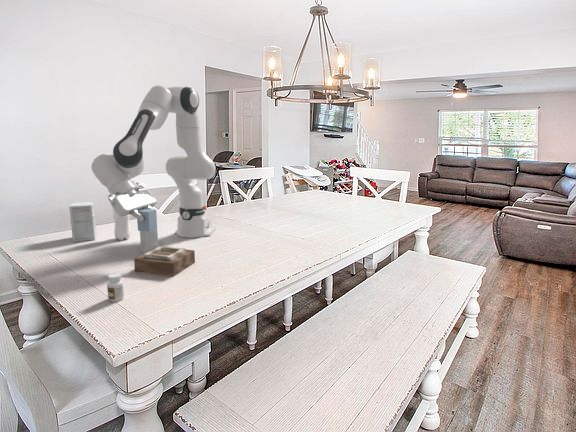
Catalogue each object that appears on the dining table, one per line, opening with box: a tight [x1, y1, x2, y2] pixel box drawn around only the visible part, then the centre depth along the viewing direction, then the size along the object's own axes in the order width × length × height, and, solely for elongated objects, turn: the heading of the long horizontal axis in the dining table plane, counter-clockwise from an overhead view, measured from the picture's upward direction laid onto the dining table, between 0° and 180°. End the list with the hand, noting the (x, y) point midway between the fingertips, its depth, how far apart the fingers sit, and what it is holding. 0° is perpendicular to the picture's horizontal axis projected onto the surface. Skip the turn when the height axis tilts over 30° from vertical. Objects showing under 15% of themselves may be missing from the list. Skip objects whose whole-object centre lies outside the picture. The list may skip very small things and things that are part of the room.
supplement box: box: [68, 201, 98, 243], centre depth 180 cm, size 10×9×17 cm
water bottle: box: [112, 207, 132, 241], centre depth 180 cm, size 7×7×25 cm
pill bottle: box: [106, 273, 125, 303], centre depth 117 cm, size 4×4×8 cm
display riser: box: [133, 245, 196, 277], centre depth 146 cm, size 16×16×6 cm
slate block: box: [136, 208, 158, 232], centre depth 145 cm, size 5×5×8 cm
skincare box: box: [139, 228, 159, 254], centre depth 163 cm, size 6×4×12 cm
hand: (148, 218), depth 145 cm, fingers closed on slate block, 5 cm apart
